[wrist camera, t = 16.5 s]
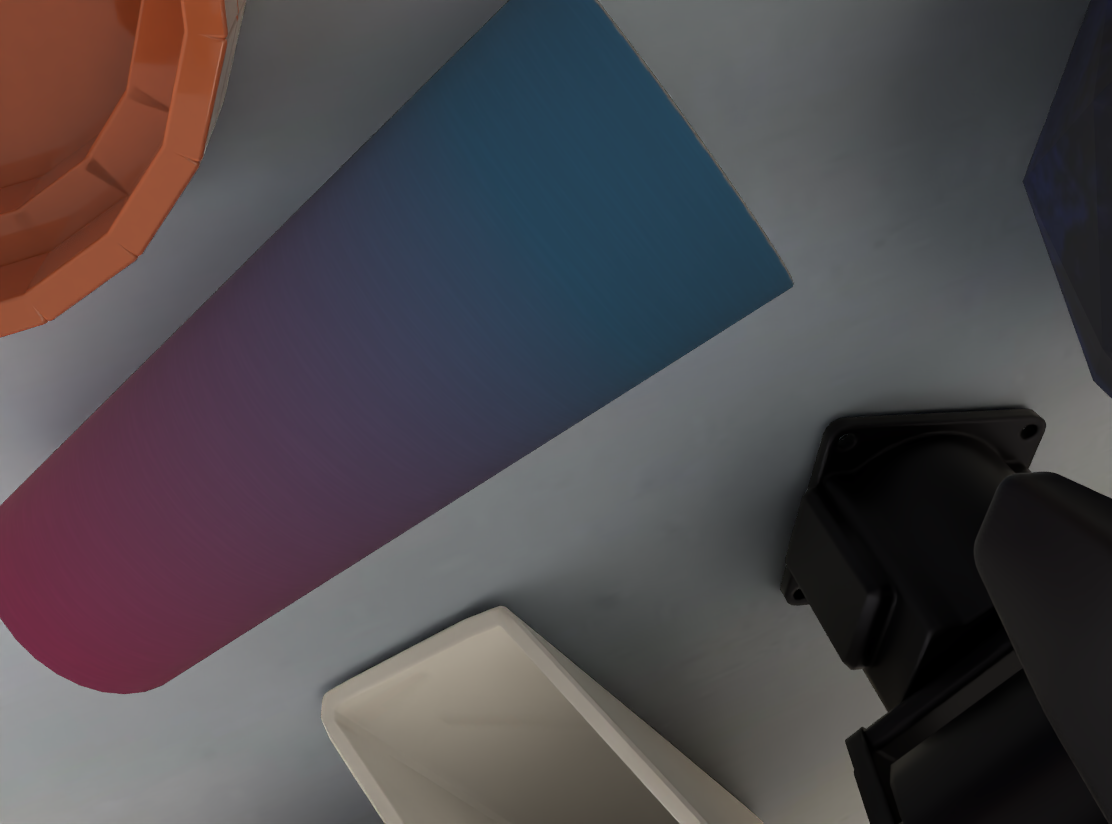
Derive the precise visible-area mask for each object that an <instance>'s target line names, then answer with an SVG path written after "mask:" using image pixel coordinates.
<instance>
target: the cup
mask: <svg viewBox="0 0 1112 824" xmlns="http://www.w3.org/2000/svg"><path fill="white" fill-rule="evenodd" d="M793 285H794V283H793V280H792V277H791V275H790V273H789V272H788V270H787V268H786V266H785V264H784V263H783V261H782V259H781V258H780V256H779V255H778V253H777V251H776V250H775V248H774V246H773V245H772V243H771V242H770V240H769V239H768V237H767V236H766V234H765V233H764V231H763V230H762V228H761V226H760V225H759V223H758V222H757V220H756V219H755V217H754V216H753V214H752V213H751V211H750V210H749V208H748V207H747V206H746V204H745V203H744V201H743V200H742V198H741V197H740V195H739V194H738V192H737V191H736V189H735V188H734V186H733V185H732V183H731V182H730V181H729V179H728V178H727V176H726V175H725V173H724V172H723V171H722V169H721V168H720V166H719V165H718V163H717V162H716V161H715V159H714V158H713V156H712V155H711V153H710V152H709V150H708V149H707V148H706V146H705V145H704V143H703V142H702V141H701V139H700V138H699V136H698V135H697V134H696V132H695V131H694V129H693V128H692V127H691V125H690V124H689V122H688V121H687V120H686V118H685V117H684V115H683V114H682V113H681V111H680V110H679V108H678V107H677V106H676V104H675V103H674V102H673V100H672V99H671V97H670V96H669V95H668V93H667V92H666V91H665V89H664V88H663V86H662V85H661V84H660V82H659V81H658V80H657V78H656V77H655V76H654V74H653V73H652V71H651V70H650V69H649V67H648V66H647V65H646V63H645V62H644V61H643V59H642V58H641V57H640V55H639V54H638V53H637V51H636V50H635V49H634V47H633V46H632V45H631V43H630V42H629V41H628V39H627V38H626V37H625V35H624V34H623V33H622V31H621V30H620V29H619V27H618V26H617V25H616V24H615V22H614V21H613V20H612V18H611V17H610V16H609V14H608V13H607V12H606V11H605V9H604V8H603V7H602V5H601V4H600V3H599V2H598V0H509V1H508V2H507V3H506V4H505V5H504V6H503V7H502V8H501V9H500V10H499V11H498V12H497V13H496V14H495V15H494V16H493V17H492V18H491V19H490V20H489V21H488V22H487V23H486V24H485V25H484V26H483V27H482V28H481V29H480V30H479V31H478V32H477V33H476V34H475V35H474V36H473V37H472V38H471V39H470V40H469V41H468V42H467V43H466V44H465V45H464V46H463V47H462V48H461V49H460V50H459V51H458V52H457V53H456V54H455V55H454V56H453V57H452V58H451V59H449V60H448V61H447V62H446V63H445V64H444V65H443V66H442V67H441V68H440V69H439V70H438V71H437V72H436V73H435V74H434V75H433V76H432V77H431V78H430V79H429V80H428V81H427V82H426V83H425V84H424V85H423V86H422V87H421V88H420V89H419V90H418V91H417V92H416V93H415V94H414V95H413V96H412V97H411V98H410V99H409V100H408V101H407V102H406V103H405V104H404V105H403V106H402V107H401V108H400V109H399V110H398V111H397V112H396V113H395V114H394V115H393V116H392V117H391V118H390V119H389V120H388V121H387V122H386V123H385V124H384V125H383V126H382V127H381V128H380V129H379V130H378V131H377V132H376V133H375V134H374V135H373V136H372V137H371V138H370V139H369V140H368V141H367V142H366V143H365V144H364V145H363V146H362V147H361V148H360V149H359V150H358V151H357V152H356V153H355V154H354V155H353V156H352V157H351V158H350V159H349V160H348V161H347V162H346V163H345V164H344V165H343V166H342V167H341V168H340V169H339V170H338V171H337V172H336V173H335V174H334V175H333V176H332V177H331V178H330V179H329V180H328V181H327V182H326V183H325V184H324V185H323V186H322V187H321V188H320V189H319V190H318V191H317V192H316V193H315V194H314V195H313V196H312V197H311V198H310V199H309V200H308V201H306V202H305V203H304V204H303V205H302V206H301V207H300V208H299V209H298V210H297V211H296V212H295V213H294V214H293V215H292V216H291V217H290V218H289V219H288V220H287V221H286V222H285V223H284V224H283V225H282V226H281V227H280V228H279V229H278V230H277V231H276V232H275V233H274V234H273V235H272V236H271V237H270V238H269V239H268V240H267V241H266V242H265V243H264V244H263V245H262V246H261V247H260V248H259V249H258V250H257V251H256V252H255V253H254V254H253V255H252V256H251V257H250V258H249V259H248V260H247V261H246V262H245V263H244V264H243V265H242V266H241V267H240V268H239V269H238V270H237V271H236V272H235V273H234V274H233V275H232V276H231V277H230V278H229V279H228V280H227V281H226V282H225V283H224V284H223V285H222V286H221V287H220V288H219V289H218V290H217V291H216V292H215V293H214V294H213V295H212V296H211V297H210V298H209V299H208V300H207V301H206V302H205V303H204V304H203V305H202V306H201V307H200V308H199V309H198V310H197V311H196V312H195V313H194V314H193V315H192V316H191V317H190V318H189V319H188V320H187V321H186V322H185V323H184V324H183V325H182V326H181V327H180V328H179V329H178V330H177V331H176V332H175V333H174V334H173V335H172V336H171V337H170V338H169V339H168V340H167V341H166V342H165V343H164V344H162V345H161V346H160V347H159V348H158V349H157V350H156V351H155V352H154V353H153V354H152V355H151V356H150V357H149V358H148V359H147V360H146V361H145V362H144V363H143V364H142V365H141V366H140V367H139V368H138V369H137V370H136V371H135V372H134V373H133V374H132V375H131V376H130V377H129V378H128V379H127V380H126V381H125V382H124V383H123V384H122V385H121V386H120V387H119V388H118V389H117V390H116V391H115V392H114V393H113V394H112V395H111V396H110V397H109V398H108V399H107V400H106V401H105V402H104V403H103V404H102V405H101V406H100V407H99V408H98V409H97V410H96V411H95V412H94V413H93V414H92V415H91V416H90V417H89V418H88V419H87V420H86V421H85V422H84V423H83V424H82V425H81V426H80V427H79V428H78V429H77V430H76V431H75V432H74V433H73V434H72V435H71V436H70V437H69V438H68V439H67V440H66V441H65V442H64V443H63V444H62V445H61V446H60V447H59V448H58V449H57V450H56V451H55V452H54V453H53V454H52V455H51V456H50V457H49V458H48V459H47V460H46V461H45V462H44V463H43V464H42V465H41V466H40V467H39V468H38V469H37V470H36V471H35V472H34V473H33V474H32V475H31V476H30V477H29V478H28V479H27V480H26V481H25V482H24V483H23V484H22V485H21V486H20V487H18V488H17V489H16V490H15V491H14V492H13V493H12V494H11V495H10V496H9V497H8V498H7V499H6V500H5V501H4V503H3V504H2V505H1V506H0V618H1V620H2V621H3V622H4V624H5V625H6V627H7V628H8V629H9V631H10V632H11V633H12V635H13V636H14V637H15V639H16V640H17V641H18V642H19V643H20V644H21V645H22V646H23V647H24V648H25V649H26V650H27V651H28V652H29V653H30V654H31V655H32V656H33V657H34V658H35V659H37V660H38V661H39V662H41V663H42V664H44V665H45V666H46V667H48V668H49V669H51V670H52V671H53V672H55V673H56V674H58V675H60V676H62V677H64V678H66V679H68V680H70V681H72V682H74V683H76V684H78V685H80V686H84V687H87V688H91V689H94V690H97V691H101V692H107V693H117V694H130V693H139V692H146V691H148V690H151V689H154V688H157V687H159V686H162V685H164V684H165V683H167V682H168V681H170V680H171V679H173V678H175V677H176V676H178V675H179V674H181V673H183V672H184V671H186V670H187V669H189V668H190V667H192V666H194V665H195V664H197V663H198V662H200V661H202V660H203V659H205V658H206V657H208V656H209V655H211V654H213V653H214V652H216V651H217V650H219V649H220V648H222V647H224V646H225V645H227V644H228V643H230V642H232V641H233V640H235V639H236V638H238V637H239V636H241V635H243V634H244V633H246V632H247V631H249V630H251V629H252V628H254V627H255V626H257V625H258V624H260V623H262V622H263V621H265V620H266V619H268V618H270V617H271V616H273V615H274V614H276V613H277V612H279V611H281V610H282V609H284V608H285V607H287V606H289V605H290V604H292V603H293V602H295V601H296V600H298V599H300V598H301V597H303V596H304V595H306V594H307V593H309V592H311V591H312V590H314V589H315V588H317V587H319V586H320V585H322V584H323V583H325V582H326V581H328V580H330V579H331V578H333V577H334V576H336V575H338V574H339V573H341V572H342V571H344V570H345V569H347V568H349V567H350V566H352V565H353V564H355V563H357V562H358V561H360V560H361V559H363V558H364V557H366V556H368V555H369V554H371V553H372V552H374V551H375V550H377V549H379V548H380V547H382V546H383V545H385V544H387V543H388V542H390V541H391V540H393V539H394V538H396V537H398V536H399V535H401V534H402V533H404V532H406V531H407V530H409V529H410V528H412V527H413V526H415V525H417V524H418V523H420V522H421V521H423V520H425V519H426V518H428V517H429V516H431V515H432V514H434V513H436V512H437V511H439V510H440V509H442V508H444V507H445V506H447V505H448V504H450V503H451V502H453V501H455V500H456V499H458V498H459V497H461V496H462V495H464V494H466V493H467V492H469V491H470V490H472V489H474V488H475V487H477V486H478V485H480V484H481V483H483V482H485V481H486V480H488V479H489V478H491V477H493V476H494V475H496V474H497V473H499V472H500V471H502V470H504V469H505V468H507V467H508V466H510V465H512V464H513V463H515V462H516V461H518V460H519V459H521V458H523V457H524V456H526V455H527V454H529V453H531V452H532V451H534V450H535V449H537V448H538V447H540V446H542V445H543V444H545V443H546V442H548V441H549V440H551V439H553V438H554V437H556V436H557V435H559V434H561V433H562V432H564V431H565V430H567V429H568V428H570V427H572V426H573V425H575V424H576V423H578V422H580V421H581V420H583V419H584V418H586V417H587V416H589V415H591V414H592V413H594V412H595V411H597V410H599V409H600V408H602V407H603V406H605V405H606V404H608V403H610V402H611V401H613V400H614V399H616V398H618V397H619V396H621V395H622V394H624V393H625V392H627V391H629V390H630V389H632V388H633V387H635V386H636V385H638V384H640V383H641V382H643V381H644V380H646V379H648V378H649V377H651V376H652V375H654V374H655V373H657V372H659V371H660V370H662V369H663V368H665V367H667V366H668V365H670V364H671V363H673V362H674V361H676V360H678V359H679V358H681V357H682V356H684V355H686V354H687V353H689V352H690V351H692V350H693V349H695V348H697V347H698V346H700V345H701V344H703V343H705V342H706V341H708V340H709V339H711V338H712V337H714V336H716V335H717V334H719V333H720V332H722V331H723V330H725V329H727V328H728V327H730V326H731V325H733V324H735V323H736V322H738V321H739V320H741V319H742V318H744V317H746V316H747V315H749V314H750V313H752V312H754V311H755V310H757V309H758V308H760V307H761V306H763V305H765V304H766V303H768V302H769V301H771V300H773V299H774V298H776V297H777V296H779V295H780V294H782V293H784V292H785V291H787V290H788V289H790V288H792V287H793Z"/></svg>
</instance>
